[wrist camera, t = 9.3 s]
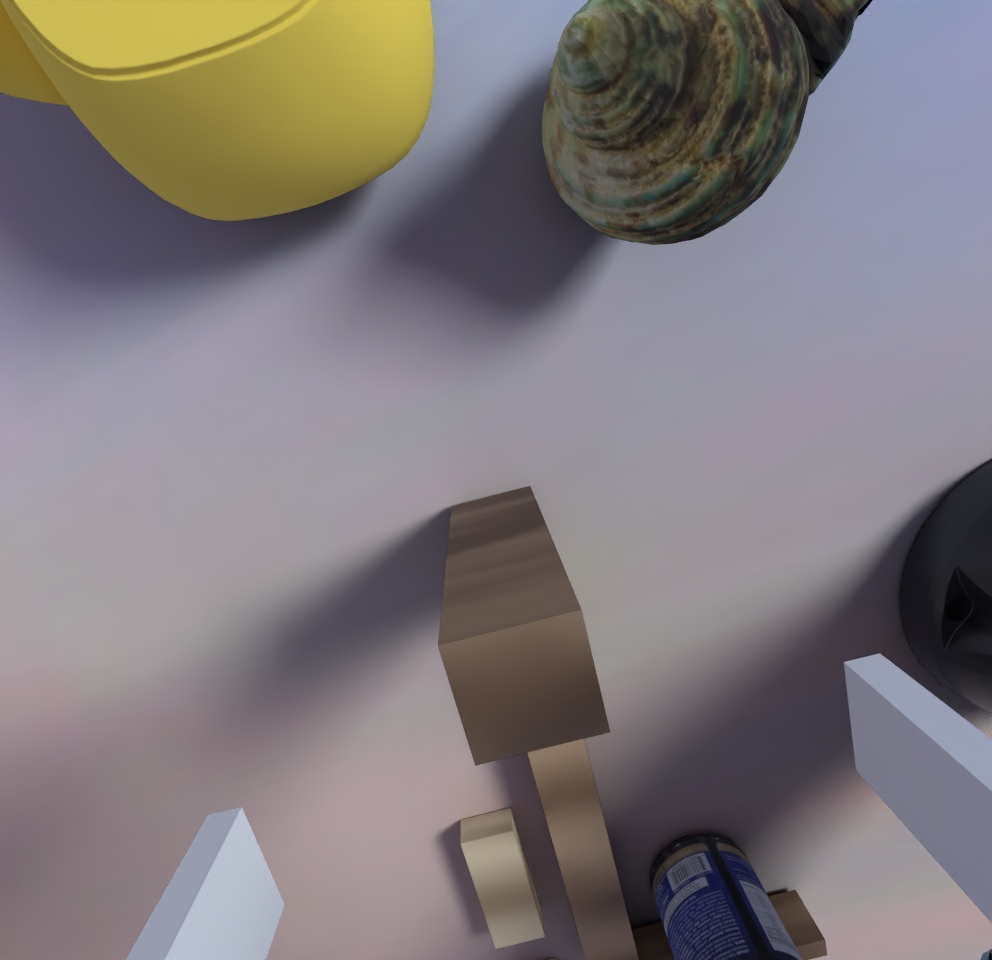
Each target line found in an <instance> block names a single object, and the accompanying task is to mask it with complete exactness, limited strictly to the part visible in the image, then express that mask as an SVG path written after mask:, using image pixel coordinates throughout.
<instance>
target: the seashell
mask: <svg viewBox="0 0 992 960" xmlns="http://www.w3.org/2000/svg"><path fill="white" fill-rule="evenodd" d="M871 2H872V0H589V1H588V2H587V3H586V4H585V5H584V6H583V7H582V8H581V9H580V10H579V11H578V12H577V13H576V14H575V15H574V16H573V17H572V19H571V20H570V21H569V23H568V24H567V26H566V27H565V29H564V30H563V33H562V36H561V38H560V41H559V43H558V50H557V53H556V56H555V59H554V62H553V67H552V69H551V79H550V86H549V87H548V91H547V95H546V99H545V103H544V109H543V118H542V142H543V148H544V154H545V159H546V164H547V167H548V170H549V174H550V178H551V180H552V182H553V184H554V186H555V187H556V189H557V191H558V193H559V195H560V197H561V198H562V199H563V201H564V202H565V203H566V204H567V205H568V206H570V207H571V208H572V209H573V210H574V211H575V212H576V213H577V215H579V216H580V217H581V218H582V219H583V220H584V221H585V222H587V223H588V224H590V225H591V226H592V227H593V228H595V229H596V230H597V231H598V232H600V233H602V234H605V235H607V236H610V237H612V238H616V239H620V240H625V241H629V242H639V243H645V244H652V245H656V244H672V243H677V242H682V241H687V240H692V239H695V238H699V237H702V236H704V235H706V234H708V233H709V232H711V231H713V230H715V229H717V228H719V227H721V226H723V225H725V224H726V223H728V222H729V221H730V220H732V219H733V218H735V217H736V216H737V215H739V214H740V213H741V212H743V211H744V210H745V209H747V208H748V207H749V206H750V205H751V204H752V203H754V202H755V201H756V200H757V199H758V198H759V197H761V196H762V195H763V193H764V192H765V191H766V189H767V188H768V186H769V185H770V184H771V182H772V181H773V180H774V179H775V177H776V176H777V175H778V173H779V172H780V171H781V169H782V168H783V166H784V164H785V163H786V161H787V159H788V158H789V156H790V154H791V152H792V150H793V148H794V145H795V143H796V141H797V139H798V137H799V133H800V129H801V125H802V121H803V117H804V113H805V109H806V105H807V101H808V97H809V95H810V94H812V93H813V92H814V91H815V90H816V88H817V87H818V85H819V84H820V83H821V81H822V80H823V79H824V77H825V76H826V75H827V74H828V72H829V71H830V70H831V69H832V67H833V66H834V65H835V64H836V62H837V61H838V59H839V58H840V56H841V55H842V54H843V52H844V50H845V48H846V47H847V45H848V43H849V41H850V39H851V35H852V30H853V26H854V22H855V20H856V18H857V17H858V16H859V15H861V14H862V13H863V12H864V10H865V9H866V8H867V7H868V5H869V4H870V3H871Z"/></svg>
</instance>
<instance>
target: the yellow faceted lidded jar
mask: <svg viewBox="0 0 992 960" xmlns="http://www.w3.org/2000/svg"><path fill="white" fill-rule="evenodd" d="M433 76H434V36H433V24H432V12H431V4H430V0H0V92H1V93H4V94H7V95H10V96H13V97H19V98H24V99H29V100H34V101H39V102H45V103H52V104H59V105H66V106H70V108H71V109H72V110H73V112H74V113H75V114H76V115H77V117H78V118H79V119H80V121H81V122H82V123H83V124H84V125H85V126H86V128H87V129H88V130H89V131H90V132H91V133H92V135H93V136H94V137H95V138H96V139H97V140H98V141H99V142H100V143H101V145H102V146H103V147H104V148H105V149H106V150H107V151H108V152H109V153H110V154H111V155H112V157H113V158H114V159H115V160H116V161H117V162H118V163H119V164H121V165H122V166H123V167H124V168H125V169H126V170H127V171H128V172H129V173H130V174H132V175H133V176H134V177H135V178H137V179H138V180H139V181H140V182H142V183H143V184H144V185H145V186H147V187H148V188H149V189H150V190H152V191H153V192H154V193H156V194H157V195H158V196H160V197H161V198H162V199H164V200H166V201H168V202H170V203H172V204H174V205H176V206H177V207H179V208H181V209H183V210H185V211H187V212H189V213H191V214H194V215H197V216H200V217H203V218H207V219H212V220H222V221H237V220H246V219H255V218H262V217H267V216H272V215H277V214H282V213H288V212H292V211H296V210H299V209H303V208H307V207H310V206H314V205H317V204H320V203H322V202H325V201H328V200H330V199H333V198H335V197H338V196H340V195H343V194H345V193H347V192H349V191H351V190H353V189H355V188H357V187H359V186H362V185H364V184H366V183H368V182H370V181H371V180H373V179H375V178H376V177H378V176H380V175H381V174H383V173H385V172H386V171H388V170H390V169H391V168H393V167H394V166H395V165H396V164H397V163H398V162H399V161H401V160H402V159H403V158H404V157H405V156H406V155H407V154H408V153H409V151H410V150H411V148H412V147H413V145H414V144H415V143H416V141H417V140H418V138H419V136H420V134H421V132H422V130H423V127H424V125H425V123H426V121H427V117H428V112H429V108H430V103H431V98H432V89H433Z"/></svg>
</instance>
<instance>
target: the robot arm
mask: <svg viewBox="0 0 992 960" xmlns="http://www.w3.org/2000/svg"><path fill="white" fill-rule="evenodd" d="M900 603H901V616H902V623H903V627H904V631H905V634H906V637H907V640H908V642H909V644H910V647H911V648H912V650H913V652H914V654H915V655H916V657H917V658H918V660H919V661H920V662H921V663H922V665H923V666H924V667H925V668H926V669H927V670H928V671H929V672H930V673H931V674H932V675H934V676H935V677H936V678H937V679H939V680H940V681H941V682H943V683H944V684H946V685H947V686H948V687H950V688H951V689H952V690H954V691H955V692H957V693H958V694H959V695H961V696H962V697H963V698H965V699H966V700H968V701H969V702H971V703H973V704H974V705H976V706H978V707H980V708H982V709H983V710H985V711H988V712H990V713H992V461H991V462H990V463H988V464H986V465H985V466H983V467H982V468H980V469H979V470H977V471H976V472H974V473H973V474H972V475H970V476H969V477H968V478H967V479H965V480H964V481H963V482H962V483H961V484H959V485H958V486H957V487H956V488H955V489H954V490H953V491H952V492H951V493H950V494H949V495H948V496H947V497H946V498H945V499H944V500H943V501H942V503H941V504H940V505H939V506H938V507H937V508H936V510H935V511H934V512H933V514H932V515H931V516H930V518H929V519H928V521H927V522H926V524H925V525H924V527H923V529H922V530H921V532H920V534H919V536H918V537H917V539H916V541H915V543H914V546H913V548H912V550H911V553H910V555H909V558H908V561H907V564H906V568H905V571H904V575H903V581H902V587H901V602H900ZM844 669H845V678H846V686H847V695H848V704H849V713H850V722H851V730H852V739H853V748H854V757H855V766H856V771H857V772H858V773H859V774H860V775H861V776H862V777H863V778H864V780H865V781H866V782H867V783H868V784H869V785H870V786H871V788H872V789H873V790H874V791H875V792H876V793H877V794H878V795H879V797H880V798H881V799H882V800H883V801H884V802H885V803H886V804H887V806H888V807H889V808H890V809H891V810H892V811H893V812H894V813H895V815H896V816H897V817H898V818H899V819H900V820H901V821H902V822H903V824H904V825H905V826H906V827H907V828H908V829H909V830H910V832H911V833H912V834H913V835H914V836H915V837H916V838H917V839H918V841H919V842H920V843H921V844H922V845H923V846H924V847H925V848H926V850H927V851H928V852H929V853H930V854H931V855H932V856H933V857H934V859H935V860H936V861H937V862H938V863H939V864H940V865H941V866H942V868H943V869H944V870H945V871H946V872H947V873H948V874H949V875H950V877H951V878H952V879H953V880H954V881H955V882H956V883H957V885H958V886H959V887H960V888H961V889H962V890H963V891H964V892H965V894H966V895H967V896H968V897H969V898H970V899H971V900H972V901H973V903H974V904H975V905H976V906H977V907H978V908H979V909H980V910H981V912H982V913H983V914H984V915H985V916H986V917H987V918H988V919H989V921H990V922H991V923H992V739H990V738H989V737H988V736H986V735H985V734H984V733H982V732H981V731H980V730H979V729H977V728H976V727H975V726H973V725H972V724H971V723H969V722H968V721H967V720H966V719H964V718H963V717H962V716H960V715H959V714H958V713H957V712H955V711H954V710H953V709H951V708H950V707H949V706H947V705H946V704H945V703H944V702H942V701H941V700H940V699H938V698H937V697H936V696H935V695H933V694H932V693H931V692H929V691H928V690H927V689H925V688H924V687H923V686H922V685H920V684H919V683H918V682H916V681H915V680H914V679H913V678H911V677H910V676H909V675H907V674H906V673H905V672H903V671H902V670H901V669H900V668H898V667H897V666H896V665H894V664H893V663H892V662H890V661H889V660H888V659H887V658H885V657H884V656H883V655H881V654H880V653H879V654H875V655H871V656H867V657H863V658H858V659H854V660H850V661H846V662H844ZM283 908H284V902H283V900H282V898H281V896H280V893H279V891H278V889H277V886H276V884H275V882H274V880H273V877H272V875H271V873H270V870H269V868H268V866H267V864H266V861H265V859H264V857H263V854H262V852H261V850H260V848H259V845H258V843H257V841H256V838H255V836H254V834H253V832H252V829H251V827H250V825H249V822H248V820H247V818H246V816H245V813H244V811H243V809H242V807H240V808H236V809H232V810H227V811H223V812H219V813H215V814H211V815H208V816H207V817H206V819H205V821H204V823H203V824H202V826H201V828H200V830H199V831H198V833H197V835H196V837H195V839H194V840H193V842H192V844H191V846H190V847H189V849H188V851H187V853H186V854H185V856H184V858H183V860H182V861H181V863H180V865H179V867H178V869H177V870H176V872H175V874H174V876H173V877H172V879H171V881H170V883H169V884H168V886H167V888H166V890H165V892H164V893H163V895H162V897H161V899H160V900H159V902H158V904H157V906H156V907H155V909H154V911H153V913H152V914H151V916H150V918H149V920H148V922H147V923H146V925H145V927H144V929H143V930H142V932H141V934H140V936H139V937H138V939H137V941H136V943H135V944H134V946H133V948H132V950H131V952H130V953H129V955H128V957H127V959H126V960H266V958H267V955H268V952H269V949H270V946H271V943H272V940H273V937H274V934H275V931H276V929H277V926H278V923H279V920H280V917H281V914H282V911H283ZM981 960H992V949H991V950H989V951H987V952H985V953H983V955H982V957H981Z"/></svg>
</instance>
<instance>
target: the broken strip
mask: <svg viewBox="0 0 992 960" xmlns="http://www.w3.org/2000/svg"><path fill="white" fill-rule="evenodd" d="M460 844H461V847H462V850H463V853H464V856H465V859H466V862H467V865H468V868H469V871H470V874H471V877H472V880H473V883H474V886H475V889H476V892H477V895H478V898H479V901H480V904H481V907H482V910H483V913H484V916H485V919H486V922H487V925H488V928H489V931H490V934H491V937H492V940H493V943H494V946H495V949H498V948H503V947H507V946H511V945H515V944H519V943H523V942H527V941H531V940H535V939H539V938H544V937H545V933H544V925H543V917H542V910H541V907H540V903H539V900H538V897H537V893H536V890H535V887H534V883H533V880H532V877H531V873H530V870H529V867H528V863H527V860H526V857H525V853H524V850H523V847H522V843H521V840H520V837H519V833H518V830H517V827H516V823H515V820H514V817H513V813H512V810H511V808H507V809H503V810H499V811H495V812H491V813H487V814H483V815H479V816H474V817H470V818H466V819H462V820H461V838H460ZM548 960H556V958H552V959H548Z"/></svg>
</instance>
